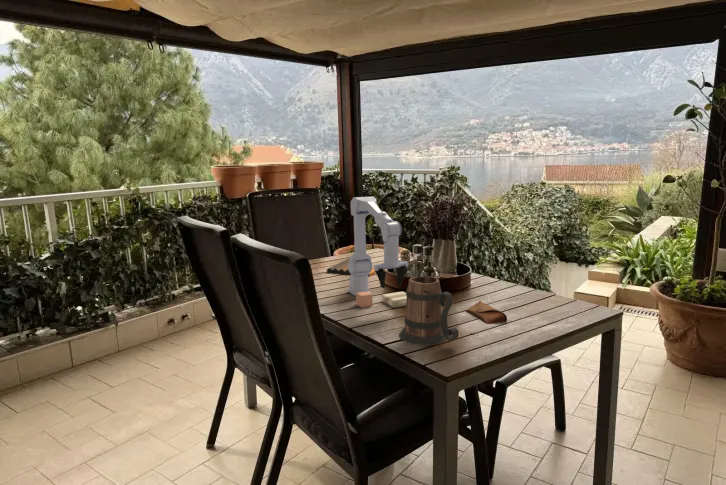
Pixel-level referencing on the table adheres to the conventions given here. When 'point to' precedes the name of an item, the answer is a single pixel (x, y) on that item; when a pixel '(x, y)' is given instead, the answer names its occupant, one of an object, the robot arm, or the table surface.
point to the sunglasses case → (487, 313)
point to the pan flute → (343, 268)
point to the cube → (364, 299)
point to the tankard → (427, 313)
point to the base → (395, 299)
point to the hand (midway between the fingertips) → (391, 286)
